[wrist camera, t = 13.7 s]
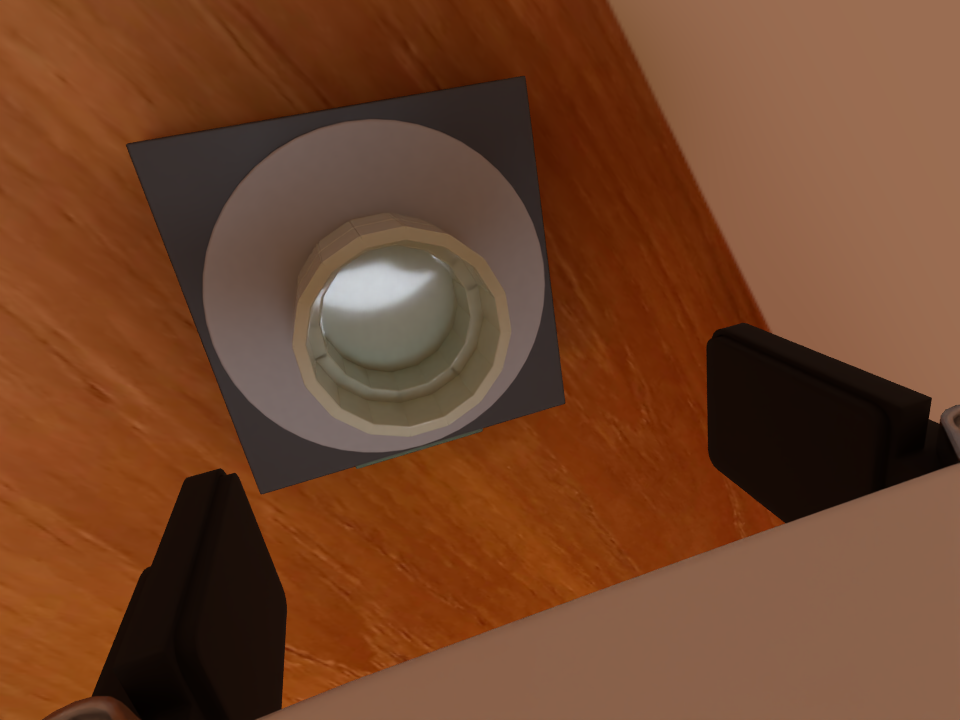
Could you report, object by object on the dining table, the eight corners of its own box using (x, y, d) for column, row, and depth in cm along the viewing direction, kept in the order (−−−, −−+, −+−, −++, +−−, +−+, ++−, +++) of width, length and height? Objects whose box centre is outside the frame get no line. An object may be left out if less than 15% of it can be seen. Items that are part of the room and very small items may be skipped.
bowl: (456, 195, 21) (492, 207, 17) (485, 360, 24) (523, 404, 20) (270, 234, 20) (263, 257, 16) (323, 405, 23) (328, 461, 19)
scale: (500, 83, 24) (533, 72, 21) (542, 389, 30) (574, 420, 26) (147, 144, 21) (117, 143, 18) (267, 469, 27) (263, 516, 23)
